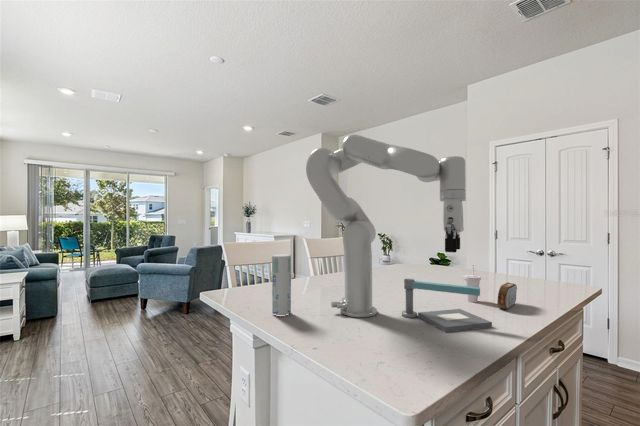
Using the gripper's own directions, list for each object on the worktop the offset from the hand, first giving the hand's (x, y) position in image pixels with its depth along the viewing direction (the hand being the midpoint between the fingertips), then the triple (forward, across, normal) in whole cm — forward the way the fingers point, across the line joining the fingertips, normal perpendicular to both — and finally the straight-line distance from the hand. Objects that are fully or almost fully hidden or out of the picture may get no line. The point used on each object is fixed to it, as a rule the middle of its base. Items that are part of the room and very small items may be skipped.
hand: (452, 250), depth 99 cm
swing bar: (+13, -1, +4) cm, 14 cm away
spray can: (+23, -20, +52) cm, 60 cm away
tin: (+22, +27, -15) cm, 38 cm away
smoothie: (+22, +29, -3) cm, 37 cm away
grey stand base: (+22, 0, +3) cm, 23 cm away
